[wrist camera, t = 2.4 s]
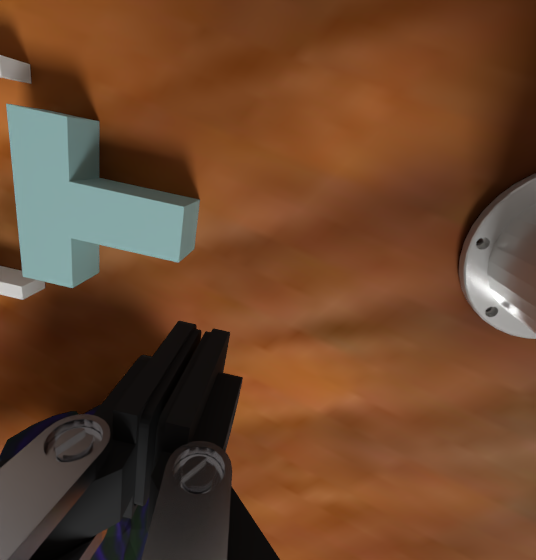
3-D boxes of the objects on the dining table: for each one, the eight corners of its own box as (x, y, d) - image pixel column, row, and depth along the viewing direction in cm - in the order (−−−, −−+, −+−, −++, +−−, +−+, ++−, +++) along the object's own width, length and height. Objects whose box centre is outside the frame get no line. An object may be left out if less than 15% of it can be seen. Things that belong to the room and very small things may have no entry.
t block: (206, 144, 24) (190, 143, 21) (189, 292, 28) (173, 311, 25) (46, 109, 24) (6, 103, 21) (54, 262, 29) (22, 276, 25)
